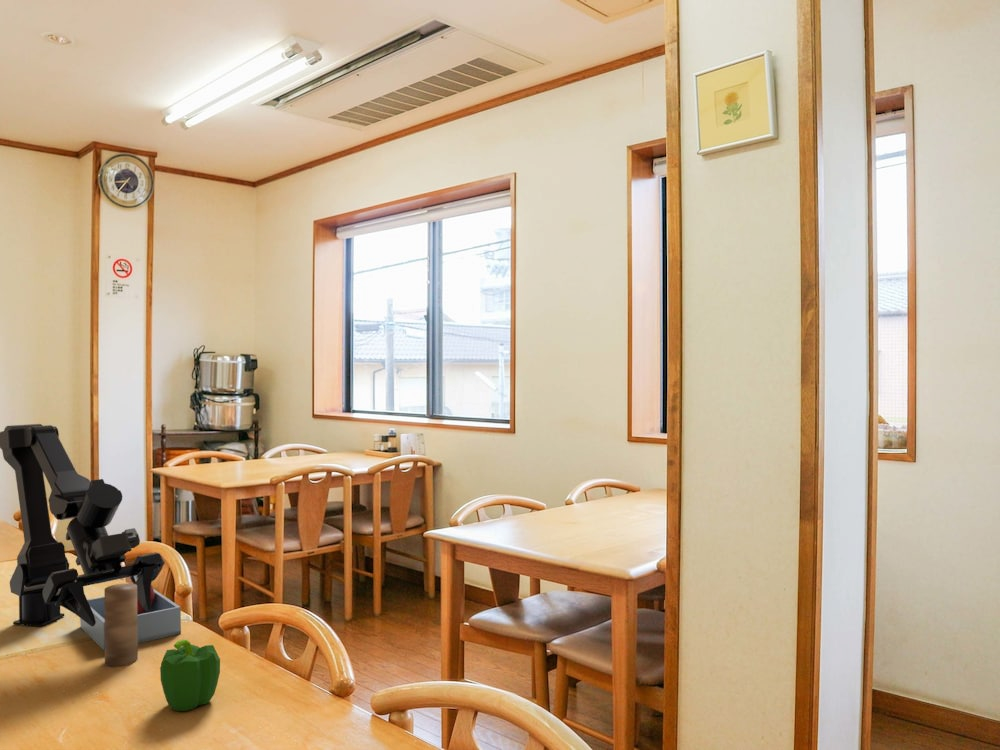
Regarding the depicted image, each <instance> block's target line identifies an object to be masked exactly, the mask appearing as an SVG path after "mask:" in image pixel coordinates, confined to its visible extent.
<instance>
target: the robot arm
mask: <svg viewBox="0 0 1000 750" xmlns="http://www.w3.org/2000/svg"><path fill="white" fill-rule="evenodd" d="M0 450H1V453H2V457H3V459H4V461H5V462H7V464H8V465H9V466H10V467H11V468H12V470H14V473H15V481H16V487H17V488H16V489H17V494H18V501H19V502H18V503H19V509H20V516H21V517H20V519H21V524H22V531H23V532H22V533H23V539H24V541H23V545H22V547H21V548H20V551H19V553H18V555H17V557H16V562H17V565H16V566H15V569H14V571H13V573H12V575H11V577H10V580H9V587H10V588H9V589H10V593H12V594H14V595H16V596H18V615H19V617H18V619H17V620H14V621H13V622H12V625H13V624H14V626H15V625H16V626H32V627H33V626H35V627H42V626H44V625H48V624H49V623H52V622H55V621H56V620H58V619H61V618H63V617H65V613H63V612H62V613H61V607H63V608H64V609H66V610H68V611H69V612H71V613H73V614H75V615H76V616H77V617H78V618H79V619H80V618H81V619H82V620H84V621H85V622H86V623H88V624H89V625H90V626H94V625H95V624H96V621H95V617H94V614H93V612H92V610H91V607H90V605H89V603H88V601H87V600H88V599H87V597H86V594H85V591H84V589H85V588H84V587H87V586H92V585H96V584H103V583H106V582H107V583H108V582H112V581H118V580H121V579H125V578H129V579H130V581H131V583H132V584H133V583H135V584H136V585H137V597H138V599H139V601H140V603H141V605H142V607H143V608H144V610H145V611H146V612H147V613H148V612H149V611H150V610H151V585H152V582H154V581H155V580H156V579H157V577H158V575H159V574H160V572H161V570H162V568H163V566H164V565H165V560H164V557H163V556H162V554H160V553H159V552H155V551H154V552H150V553H146V554H141V555H140V554H139V555H137V556H136V558H135V560H134V562H133V564H129V565H125V566H122V564H121V563H125V561H126V554H127V553H128V552H131V551H132V550H133V549H135V548H137V546H139V545H140V543H141V541H140V540H141V539H140V536H139V533H138V532H137V530H136V528H134V527H133V528H127V529H124V531H122V532H121V533H116V534H115V533H114V534H111V535H109V533H108V531H107V529H106V527H107V526H108V525H110V524H111V523H112V520H113V519H114V517H115V515H116V513H117V511H118V509H119V507H120V504H121V503H122V501H123V493H122V491H121V490H120V489H118V488H117V487H116V486H114V485H112V484H110V483H106V482H105V481H104V479H103V478H99V479H91V480H90V479H89V478H87V477H85V476H83V475H81V474H79V473H78V471H77V470H76V468H75V465H74V464H73V462H72V460H71V458H70V456H69V455H68V453H67V451H66V449H65V447H64V445H63V443H62V441H61V440H60V433H59V429H58V428H57V426H53V425H51V424H49V425H43V424H41V423H35V424H34V423H33V424H32V423H31V424H15V425H14V424H13V425H6V426H5V427H4V429H3V431H0ZM45 478H46V480H47V482H48V485H49V487H50V490H51V491H50V494H49V497H47V492H46V483H45ZM49 511H50V512H49ZM50 513H51V515H53V516H54V518H55V519H56V520H60V521H64V520H70V521H69V523H68V525H67V527H66V531H67V532H66V534H65V540H66V541H71V543H72V546H73V548H74V550H75V554H76V559H75V565H76V566H80V567H81V570H82V571H83V574H79V573H78V569H76V568H73V567H72V568H70V562H69V560H68V558H67V556H66V550H65V549H66V548H65V545H64V543H63V542H62V541H58V540H56V538H54V536H53V533H52V525H51V519H50Z"/></svg>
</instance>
